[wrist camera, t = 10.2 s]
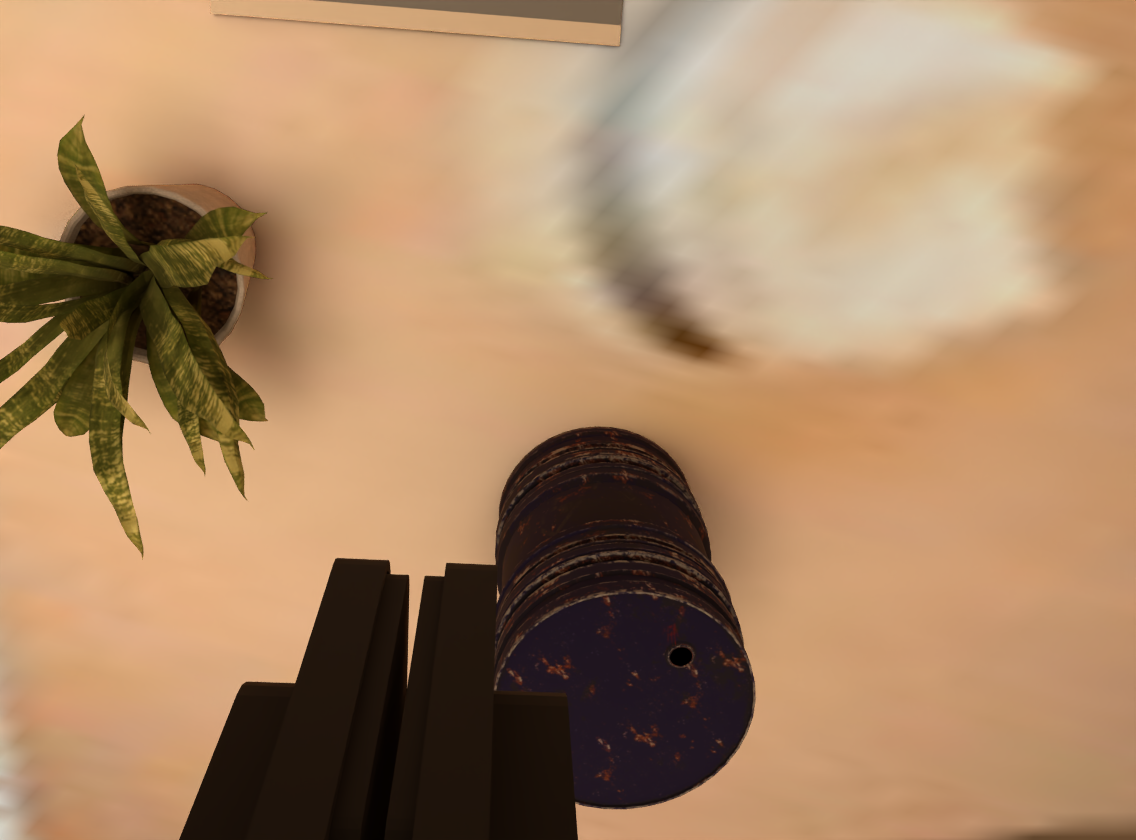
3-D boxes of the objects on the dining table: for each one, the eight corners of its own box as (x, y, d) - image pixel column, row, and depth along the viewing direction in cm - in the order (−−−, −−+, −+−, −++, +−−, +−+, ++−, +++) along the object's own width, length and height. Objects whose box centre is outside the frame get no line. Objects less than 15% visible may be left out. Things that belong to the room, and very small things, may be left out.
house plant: (5, 377, 48) (-230, 555, 33) (-10, 62, 43) (-295, 100, 28) (321, 416, 49) (235, 603, 34) (342, 115, 44) (252, 179, 29)
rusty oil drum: (596, 635, 55) (622, 853, 41) (454, 521, 52) (432, 714, 38) (736, 510, 52) (814, 696, 39) (596, 383, 49) (626, 535, 36)
